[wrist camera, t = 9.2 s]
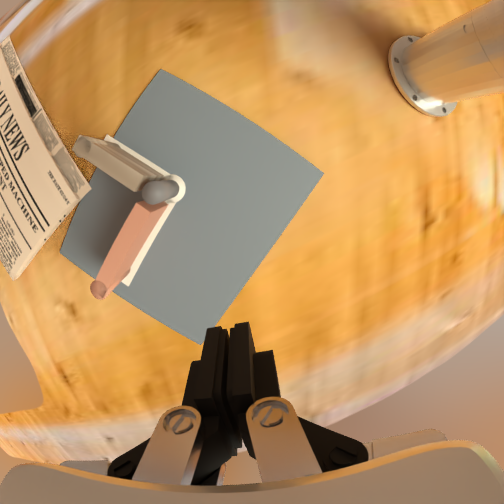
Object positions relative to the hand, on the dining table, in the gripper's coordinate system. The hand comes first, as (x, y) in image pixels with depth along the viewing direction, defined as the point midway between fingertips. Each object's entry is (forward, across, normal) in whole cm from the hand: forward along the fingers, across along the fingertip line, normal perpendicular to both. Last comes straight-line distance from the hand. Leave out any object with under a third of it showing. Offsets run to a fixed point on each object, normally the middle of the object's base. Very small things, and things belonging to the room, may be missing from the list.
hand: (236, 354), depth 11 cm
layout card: (+22, +7, -4) cm, 23 cm away
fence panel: (+21, +10, -3) cm, 23 cm away
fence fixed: (+21, +10, -10) cm, 26 cm away
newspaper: (+21, +33, -21) cm, 45 cm away
